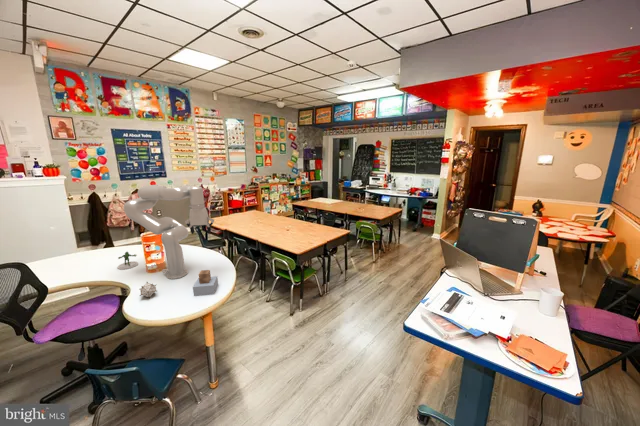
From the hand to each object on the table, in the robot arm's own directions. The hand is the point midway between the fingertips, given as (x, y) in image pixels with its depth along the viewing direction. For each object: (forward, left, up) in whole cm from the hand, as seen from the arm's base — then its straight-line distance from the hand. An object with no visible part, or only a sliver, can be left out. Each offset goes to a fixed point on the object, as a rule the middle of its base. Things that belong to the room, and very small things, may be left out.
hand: (201, 233), depth 157 cm
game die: (-25, -20, -31) cm, 44 cm away
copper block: (+5, -17, -25) cm, 30 cm away
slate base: (+5, -17, -31) cm, 35 cm away
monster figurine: (-61, +23, -31) cm, 72 cm away
